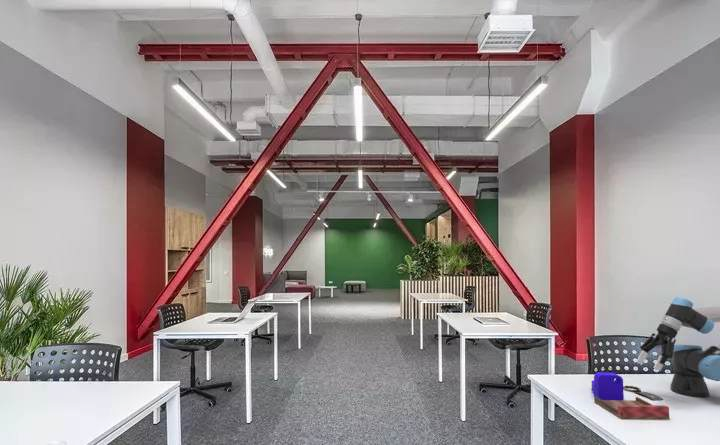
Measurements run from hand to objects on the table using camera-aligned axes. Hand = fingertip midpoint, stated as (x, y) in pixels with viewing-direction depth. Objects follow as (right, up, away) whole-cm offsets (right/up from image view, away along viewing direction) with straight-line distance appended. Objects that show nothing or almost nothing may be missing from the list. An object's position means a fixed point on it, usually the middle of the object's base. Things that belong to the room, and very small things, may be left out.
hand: (647, 366), depth 199 cm
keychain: (+3, -17, +9) cm, 20 cm away
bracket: (-17, -16, +7) cm, 25 cm away
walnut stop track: (-17, -15, -14) cm, 26 cm away
